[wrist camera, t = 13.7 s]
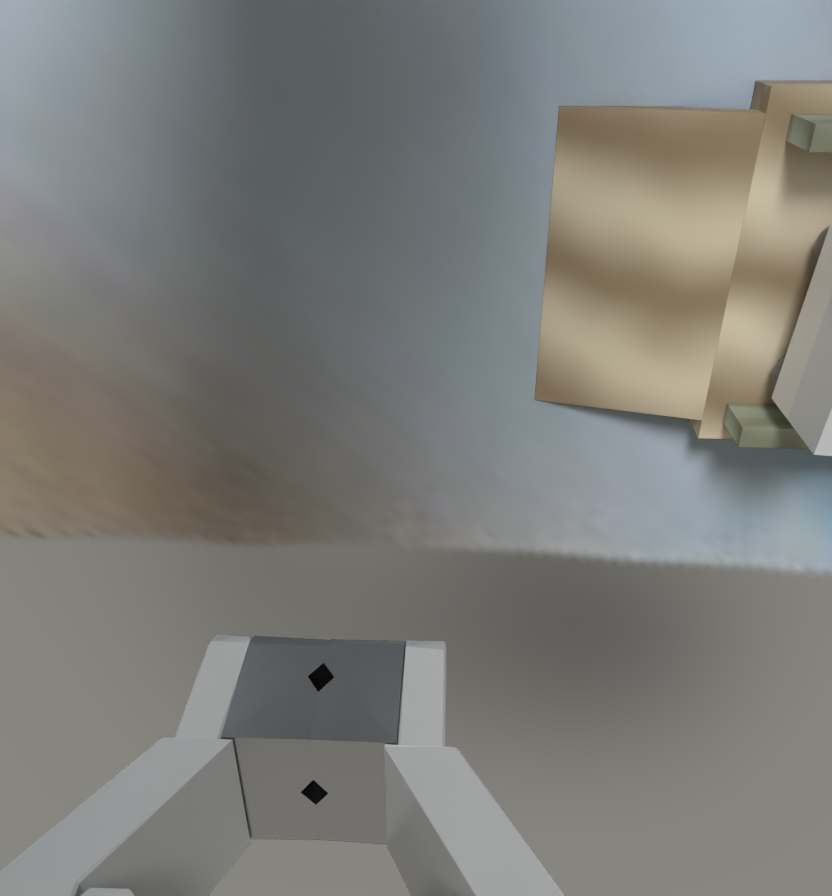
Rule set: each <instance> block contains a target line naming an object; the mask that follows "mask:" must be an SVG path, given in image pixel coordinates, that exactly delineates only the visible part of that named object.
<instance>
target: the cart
mask: <svg viewBox="0 0 832 896" xmlns="http://www.w3.org/2000/svg"><path fill="white" fill-rule="evenodd" d="M814 251H815V256H816V258H817V260H818V262H817V265H816V268H815V271H814V274H813V276H812V279H811V282H810V285H809V288H808V291H807V294H806V297H805V300H804V303H803V306H802V309H801V312H800V315H799V318H798V321H797V324H796V327H795V330H794V333H793V336H792V339H791V342H790V344H789V347H788V350H787V353H786V356H785V357H783V358H782V359H780V360H779V361H778V362H777V363H776V365H775V367H774V369H773V372H772V381H773V384H774V386H775V389H774V392H773V395H772V400H773V401H774V402H775V404H776V405H777V406H778V408H779V409H780V410H781V412H782V413H783V414H784V416H785V417H786V418H787V420H788V421H789V422H790V424H791V425H792V426H793V428H794V429H795V430H796V432H797V433H798V434H799V436H800V437H801V438H802V440H803V441H804V442H805V444H806V445H807V446H808V448H809V449H810V450H811V452H812V453H813V454H814V455H824V456H832V224H830V226H828V227H827V228H825V229H824V230H823V231H822V232H821V233H820V234H819V236H818V238H817V240H816V242H815V247H814Z"/></svg>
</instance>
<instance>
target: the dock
mask: <svg viewBox="0 0 832 896" xmlns="http://www.w3.org/2000/svg"><path fill="white" fill-rule="evenodd" d="M830 224H832V81H756V83H755V88H754V93H753V98H752V103H751V108H750V110H748V109H719V108H690V107H662V106H559V114H558V126H557V138H556V150H555V162H554V174H553V186H552V198H551V210H550V222H549V234H548V246H547V258H546V270H545V282H544V294H543V306H542V318H541V330H540V342H539V354H538V366H537V378H536V390H535V400H540V401H548V402H556V403H564V404H572V405H581V406H589V407H597V408H605V409H613V410H621V411H630V412H638V413H646V414H654V415H662V416H670V417H679V418H687V419H689V422H690V423H691V425H692V427H693V429H694V431H695V433H696V435H697V437H698V438H709V439H734V441H735V442H736V444H737V446H738V447H758V448H808V446H807V445H806V444H805V442H804V441H803V440H802V438H801V437H800V436H799V434H798V433H797V432H796V430H795V429H794V428H793V426H792V425H791V424H790V422H789V421H788V420H787V418H786V417H785V416H784V414H783V413H782V412H781V410H780V409H779V408H778V406H777V405H776V404H775V402H774V401H773V400H772V395H773V392H774V389H775V386H774V384H773V381H772V372H773V369H774V367H775V365H776V363H777V362H778V361H779V360H780V359H782V358H783V357H785V356H786V353H787V350H788V347H789V344H790V342H791V339H792V336H793V333H794V330H795V327H796V324H797V321H798V318H799V315H800V312H801V309H802V306H803V303H804V300H805V297H806V294H807V291H808V288H809V285H810V282H811V279H812V276H813V274H814V271H815V268H816V265H817V262H818V260H817V258H816V256H815V251H814V247H815V242H816V240H817V238H818V236H819V234H820V233H821V232H822V231H823V230H824V229H825V228H827V227H828V226H830Z"/></svg>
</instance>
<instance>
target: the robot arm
mask: <svg viewBox="0 0 832 896" xmlns="http://www.w3.org/2000/svg"><path fill="white" fill-rule="evenodd" d="M445 710H446V644H445V642H444V641H407V642H406V641H389V640H388V641H387V640H337V639H331V640H323V639H304V638H303V639H302V638H286V637H285V638H284V637H267V636H254V637H250V636H232V635H215V637H214V638H213V639H212V640H211V641H210V643H209V644H208V647H207V650H206V652H205V655H204V658H203V660H202V663H201V666H200V669H199V671H198V674H197V677H196V679H195V682H194V685H193V687H192V690H191V693H190V695H189V698H188V701H187V703H186V706H185V709H184V712H183V714H182V717H181V720H180V722H179V725H178V728H177V731H176V733H175V736H174V737H162V738H161V739H159V740H158V741H157V742H156V743H155V744H153V745H152V746H151V747H150V748H149V749H147V750H146V751H145V752H144V753H142V754H141V755H140V756H139V757H138V758H137V759H135V760H134V761H133V762H132V763H130V764H129V765H128V766H127V767H126V768H124V769H123V770H122V771H121V772H120V773H118V774H117V775H116V776H115V777H114V778H112V779H111V780H110V781H109V782H107V783H106V784H105V785H104V786H103V787H101V788H100V789H99V790H98V791H97V792H95V793H94V794H93V795H92V796H91V797H89V798H88V799H87V800H86V801H84V803H82V804H81V805H80V806H78V807H77V808H76V809H75V810H74V811H72V812H71V813H70V814H69V815H68V816H66V817H65V818H64V819H63V820H62V821H60V822H59V823H58V824H57V825H55V827H53V828H52V829H51V830H49V831H48V832H47V833H46V834H45V835H43V837H41V838H40V839H39V840H37V841H36V842H35V843H34V844H33V845H31V846H30V847H29V848H28V849H27V850H25V851H24V852H23V853H22V854H20V856H18V857H17V858H16V859H14V861H12V862H11V863H10V864H8V865H7V866H6V867H5V868H4V869H2V870H1V871H0V896H209V895H210V893H211V892H212V891H213V890H214V888H215V887H216V886H217V884H218V883H219V882H220V881H221V880H222V878H223V877H224V876H225V875H226V874H227V872H228V871H229V870H230V868H231V867H232V866H233V865H234V864H235V862H236V861H237V860H238V858H240V856H241V855H242V854H243V853H244V851H245V850H246V849H247V848H248V846H249V845H250V839H289V840H297V839H298V840H329V841H345V842H359V843H375V844H388V849H389V852H390V853H391V856H392V858H393V859H394V862H395V864H396V865H397V868H398V870H399V872H400V874H401V876H402V878H403V880H404V882H405V884H406V886H407V888H408V890H409V892H410V894H411V896H565V895H564V894H563V893H562V891H561V890H560V889H559V888H558V886H557V884H556V883H555V882H554V880H553V879H552V878H551V876H550V875H549V873H548V872H547V871H546V869H545V868H544V866H543V865H542V864H541V862H540V861H539V860H538V858H537V857H536V855H535V854H534V853H533V851H532V850H531V849H530V847H529V846H528V844H527V843H526V842H525V840H524V839H523V837H522V836H521V835H520V833H519V832H518V831H517V829H516V828H515V827H514V825H513V824H512V822H511V821H510V820H509V818H508V817H507V815H506V814H505V813H504V811H503V810H502V808H501V807H500V806H499V804H498V803H497V802H496V800H495V799H494V798H493V796H492V795H491V793H490V792H489V791H488V789H487V788H486V786H485V785H484V784H483V782H482V781H481V780H480V778H479V777H478V775H477V774H476V773H475V771H474V770H473V768H472V767H471V766H470V764H469V763H468V762H467V760H466V759H465V758H464V756H463V755H462V753H461V752H460V751H459V749H458V748H457V747H445V722H446V721H445V719H446V717H445V716H446V715H445V714H446V711H445Z"/></svg>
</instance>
